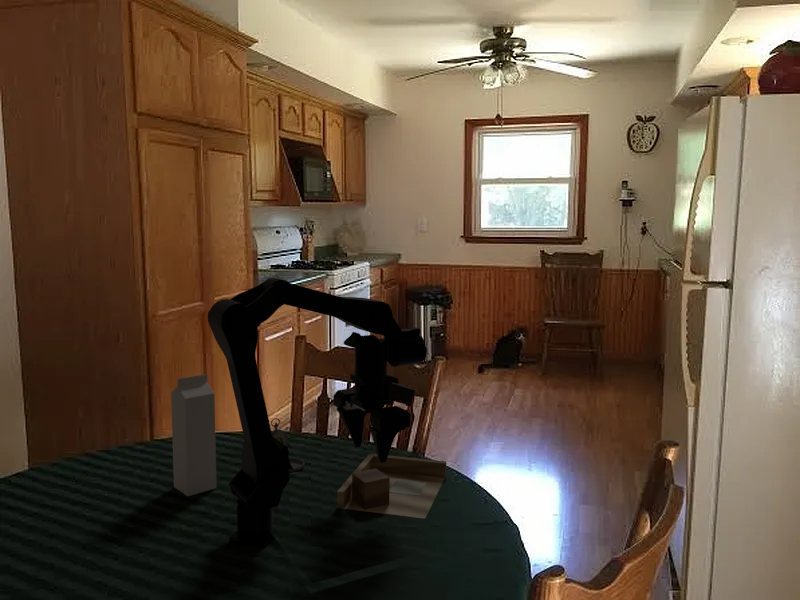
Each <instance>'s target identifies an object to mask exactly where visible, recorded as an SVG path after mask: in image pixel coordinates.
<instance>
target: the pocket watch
mask: <svg viewBox="0 0 800 600" xmlns="http://www.w3.org/2000/svg"><path fill="white" fill-rule="evenodd" d="M275 420H277V421H278V423H277V422H275V423H274V424H273V421H275ZM280 423H281V420H280V419H279V418H277V417H275V418H273V419H272V420H271V421H270V426H271V427H273V428H274V429H273V430H271V432H272V436H273V437H275V438H276V439H278V440H279V441H280V442H282V443H283V444H285V445H286V446H287V447H288V445H289V438H288V434H287V433H286V431H284V430H283V429H278V427H279V425H280ZM289 462H290V464H291V466H292V467H293V469H292V470H290V469H289V471H290V473H294V472H298V471H301V470H302V469H303V468H305V461H303V460H302V459H300V458H295V457H289Z"/></svg>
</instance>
